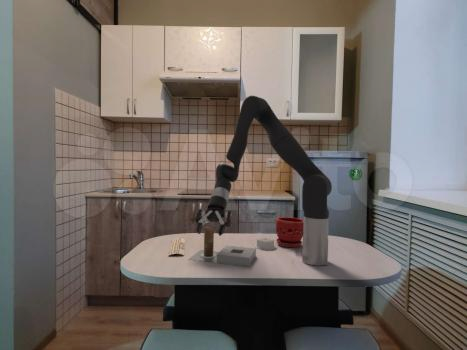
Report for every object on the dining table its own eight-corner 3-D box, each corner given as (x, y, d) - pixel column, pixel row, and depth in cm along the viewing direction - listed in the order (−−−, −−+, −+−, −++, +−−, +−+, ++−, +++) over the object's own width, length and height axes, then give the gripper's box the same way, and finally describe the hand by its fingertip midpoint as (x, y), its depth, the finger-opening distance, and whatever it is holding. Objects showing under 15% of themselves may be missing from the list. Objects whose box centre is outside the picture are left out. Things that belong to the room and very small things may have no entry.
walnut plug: (214, 254, 114) (215, 226, 113) (211, 257, 110) (211, 228, 110) (205, 253, 115) (206, 225, 114) (202, 256, 111) (203, 227, 111)
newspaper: (172, 242, 137) (172, 238, 137) (187, 241, 138) (187, 238, 138) (168, 258, 114) (168, 253, 114) (186, 257, 115) (186, 253, 115)
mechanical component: (259, 245, 134) (249, 250, 125) (259, 235, 134) (250, 240, 125) (279, 248, 130) (271, 254, 121) (280, 238, 129) (272, 243, 121)
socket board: (255, 258, 114) (256, 248, 114) (248, 269, 102) (249, 258, 102) (200, 252, 120) (201, 242, 120) (187, 262, 108) (187, 251, 108)
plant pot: (298, 250, 126) (299, 223, 125) (270, 245, 133) (271, 219, 132) (308, 244, 137) (308, 218, 137) (281, 239, 144) (282, 215, 143)
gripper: (200, 194, 122) (189, 226, 112) (233, 195, 119) (224, 229, 108) (205, 205, 128) (194, 237, 117) (236, 207, 124) (228, 240, 113)
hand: (209, 233), depth 113 cm, fingers open, 8 cm apart
